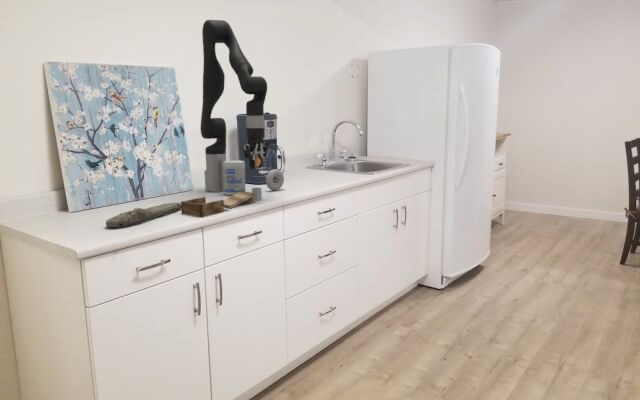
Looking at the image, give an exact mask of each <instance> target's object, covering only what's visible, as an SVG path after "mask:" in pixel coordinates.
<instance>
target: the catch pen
mask: <svg viewBox="0 0 640 400" xmlns="http://www.w3.org/2000/svg"><path fill="white" fill-rule="evenodd" d="M224 200H225V199H219V200H215V201H209V202H206V196H201V197H197V198H191V199H187V200H182V201H181V200H180V205H181V209H180V210H181V214H183V215H188V216H192V217H193V216H194V217H199V218H204V217H208V216H211V215H212V216H213V215H216V214H219V213H225V211H224V209H225V207H224Z"/></svg>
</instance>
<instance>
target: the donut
mask: <svg viewBox="0 0 640 400" xmlns="http://www.w3.org/2000/svg"><path fill="white" fill-rule="evenodd" d="M274 178H276V181H275V182H274ZM284 181H285V177H284V174H283V172H282V171H281V170H280V169H275V168H274V169H271V170H270V171H268V173H267V174H266V177H265V184H266V188H268V189H269V190H271V191H278V190H280V189H281V188H282V186H283V185H284Z"/></svg>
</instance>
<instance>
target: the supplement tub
mask: <svg viewBox="0 0 640 400" xmlns="http://www.w3.org/2000/svg"><path fill="white" fill-rule="evenodd" d="M245 163H246V162H245V161H244V160H235V159H233V160H226V161H224V162H223V181H224V191H223V194H224V195H225V196H229V197H231V196H233V195H235V194H237V193H239V192H241V191H244V192H246V164H245Z"/></svg>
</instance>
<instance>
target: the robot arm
mask: <svg viewBox="0 0 640 400" xmlns="http://www.w3.org/2000/svg"><path fill="white" fill-rule="evenodd" d="M201 34H202V35H201V36H202V49H203V50H202V51H203V69H202V71H203V72H202V73H203V74H202V107H201V108H202V109H201V115H200V116H201V118H200V135H201V137H202V138H203V139H204V140H209V139H214V140H215V139H216V140H215V142H214V143H212V144H211V145H208V146H206V147H205V168H206V169H205V170H204V187H205V191H206V192H211V193H218V192H219V193H220V192H221V193H222V192H224V181H223V162H224V161H227V125H226V120H225V119H224V118H222V117H212V113H213V110H214V107H215V105H216V104H217V103H218V101H219V99H220V98H221V97H222V95H223V93H224V91H225V80H226V79H225V78H226V76H225V72H224V70H223V67H222V66H221V63H220V62H219V60H218V58H217V55H216V44H224V45H225V47H227V49H228V61H229V65H230V67H231V68H232V70H233V71H234V72H235V73H234V74H236V75H237V79H238V83H239V87H240V89H241V90H242V91H243V92H244V93H245V94H247V95H253V98H252V99H251V100H248V101H247V102H246V105H245V106H246V107H245V108H246V110H245V113H246V114H245V115H246V118H245V133H246V139H247V142H246V144H243V145H242V146H241V147H242V151H243V155H244V157H245V159H247V160H248V161H249V163H248V164H249V169H251V170H255V169H256V167H255V160H254V159H255V157H258V158H260V160H261V164H260V165H259V166H257V168H259V169H260V168H261V169H262V168H263V166H264V160H263V159H264V157H265V158H266V157H267V154H268V150H269V142H265V141H264V139H265V137H266V135H265V133H266V132H265V130H266V129H265V125H266V124H265V115H264V112H265V111H264V109H265V107H264V104H265V102H266V97H267V92H268V82H267V80H266V78H265V77H263V76H252V75H253V73H254V68H253V66H252V65H251V63H250V62H249V60H248V59H247V57H246V55H245V54H244V53H243V51H242V48H241V47H240V44H239V42H238V40H237V37H236V35H235V33H234V31H233V29H232V26H231V25H230V24H229V22H228V21H225V20H221V19H219V20H218V19H206V20H205V21H204V23H203V25H202V33H201Z"/></svg>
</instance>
